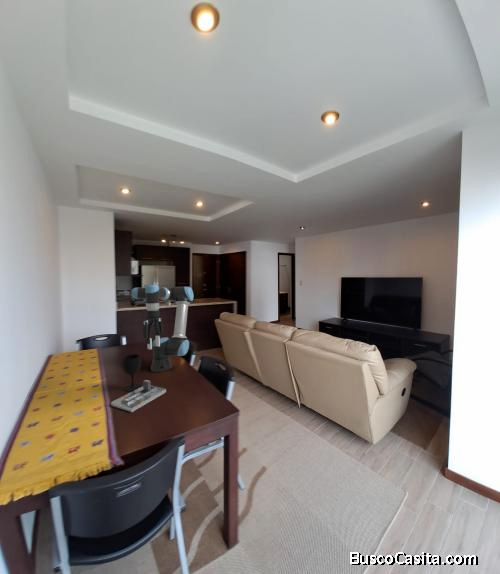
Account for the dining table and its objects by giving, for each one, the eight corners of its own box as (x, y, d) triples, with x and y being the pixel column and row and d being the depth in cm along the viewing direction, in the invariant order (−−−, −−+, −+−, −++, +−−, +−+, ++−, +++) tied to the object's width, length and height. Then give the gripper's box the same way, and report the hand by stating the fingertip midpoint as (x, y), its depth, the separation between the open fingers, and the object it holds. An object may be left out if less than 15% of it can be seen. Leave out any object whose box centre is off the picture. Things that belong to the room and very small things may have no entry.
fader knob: (146, 389, 145) (146, 379, 145) (151, 390, 143) (150, 380, 143) (143, 391, 143) (142, 381, 142) (147, 392, 141) (147, 382, 141)
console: (147, 387, 153) (146, 382, 153) (166, 392, 146) (165, 387, 146) (111, 405, 131) (111, 400, 131) (131, 412, 124) (131, 406, 124)
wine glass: (121, 392, 146) (120, 360, 145) (125, 385, 156) (124, 355, 155) (140, 390, 149) (139, 358, 148) (143, 383, 159) (142, 353, 158)
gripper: (159, 307, 157) (160, 343, 157) (135, 311, 140) (136, 351, 141) (168, 308, 153) (169, 344, 154) (144, 312, 137) (145, 352, 137)
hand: (153, 347), depth 147 cm, fingers open, 6 cm apart
